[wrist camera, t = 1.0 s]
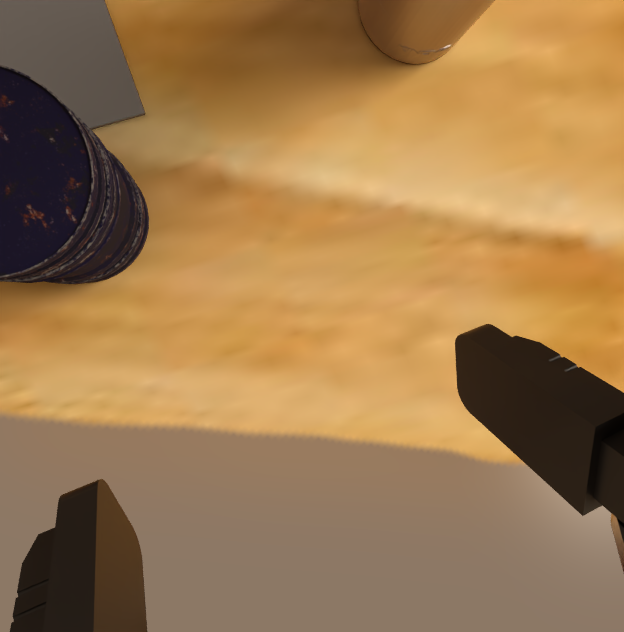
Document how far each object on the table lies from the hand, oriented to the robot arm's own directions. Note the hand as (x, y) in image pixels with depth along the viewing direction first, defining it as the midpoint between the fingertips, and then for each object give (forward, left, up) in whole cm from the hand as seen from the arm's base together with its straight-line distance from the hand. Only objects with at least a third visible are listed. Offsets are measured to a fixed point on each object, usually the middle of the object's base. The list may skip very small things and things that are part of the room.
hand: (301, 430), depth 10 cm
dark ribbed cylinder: (-9, -12, -29) cm, 33 cm away
